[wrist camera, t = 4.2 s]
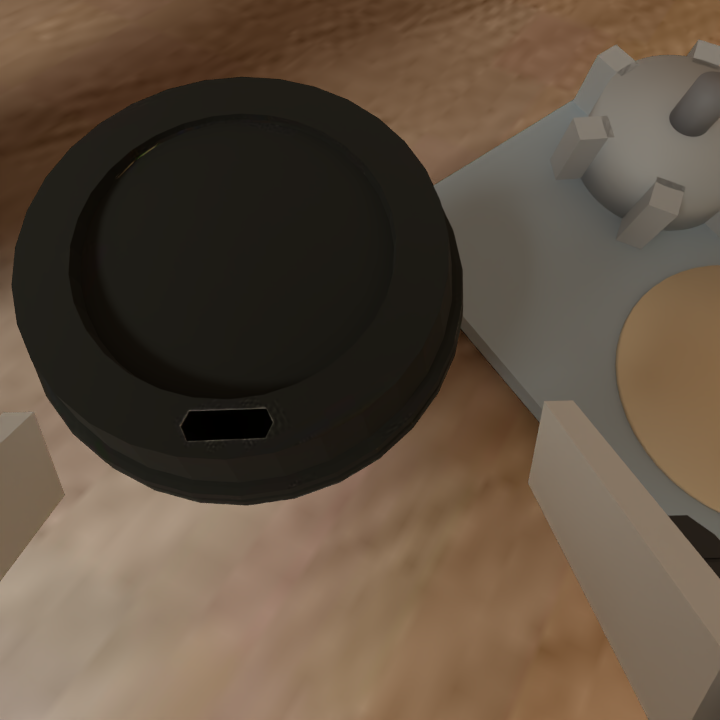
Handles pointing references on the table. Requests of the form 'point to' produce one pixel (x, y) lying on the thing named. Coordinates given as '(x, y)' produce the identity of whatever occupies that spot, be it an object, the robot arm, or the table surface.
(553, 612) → the table surface
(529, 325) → the gear board
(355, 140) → the coffee cup
